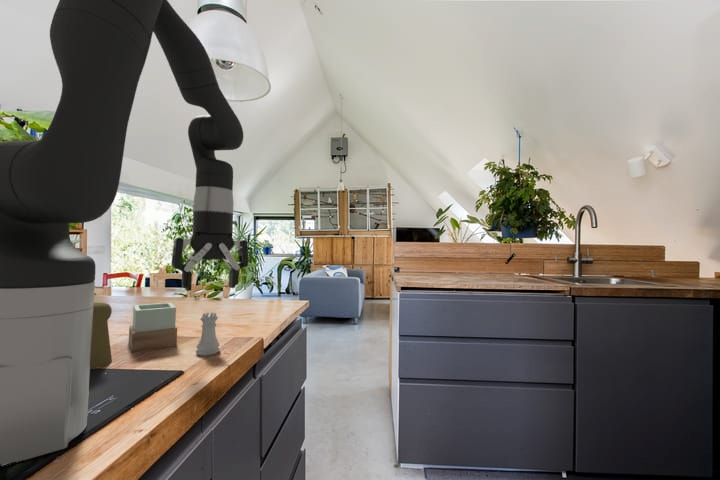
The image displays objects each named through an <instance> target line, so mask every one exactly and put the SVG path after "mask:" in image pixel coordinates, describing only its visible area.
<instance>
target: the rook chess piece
mask: <svg viewBox="0 0 720 480" xmlns="http://www.w3.org/2000/svg"><path fill="white" fill-rule="evenodd" d="M218 319H219V317H218V316H217V312H206V313H204V312H203V313H202V316H201V317H200V321H201V323H202V325H201V328H202V331H201V336H200V340H198V343H197V345H196V351H195V353H196V354H197V356H200V357H206V356H207V357H209V356H213V355H217V354H218V353H219V351H220V348H219V347H220V342H219V341H218V338H217V334H216V327H217V324H216V322H217V320H218ZM217 352H218V353H217Z"/></svg>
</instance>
